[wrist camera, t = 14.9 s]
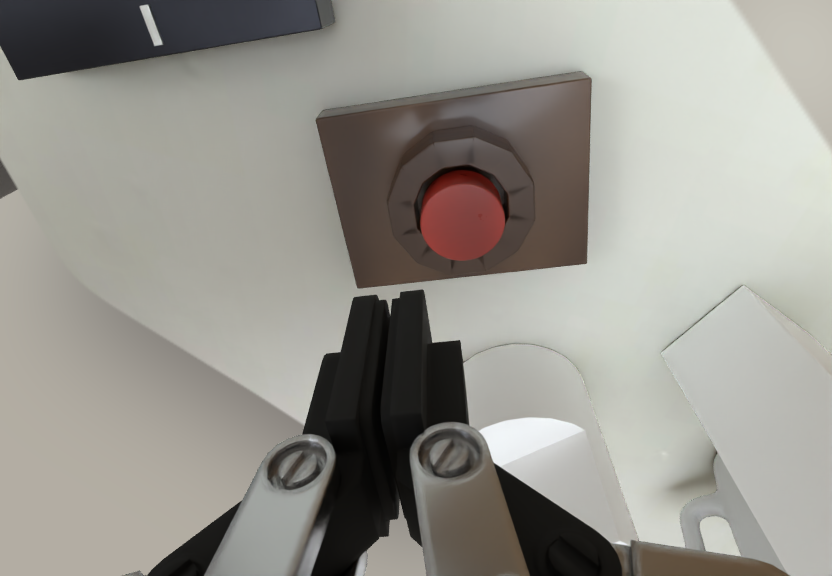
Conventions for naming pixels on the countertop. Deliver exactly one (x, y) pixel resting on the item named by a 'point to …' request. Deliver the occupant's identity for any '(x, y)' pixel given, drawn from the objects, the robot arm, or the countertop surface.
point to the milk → (766, 420)
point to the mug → (733, 510)
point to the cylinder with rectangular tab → (547, 433)
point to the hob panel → (140, 29)
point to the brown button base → (463, 150)
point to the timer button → (462, 215)
